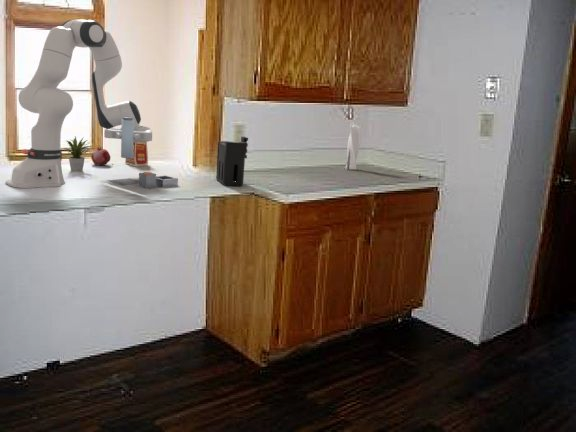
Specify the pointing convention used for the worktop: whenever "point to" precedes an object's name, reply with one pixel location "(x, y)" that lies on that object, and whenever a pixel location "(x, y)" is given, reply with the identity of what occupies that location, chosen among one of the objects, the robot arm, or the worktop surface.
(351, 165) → the skyscraper
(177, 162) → the worktop surface
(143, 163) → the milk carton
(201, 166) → the worktop surface
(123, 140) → the block
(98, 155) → the fruit
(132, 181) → the mat
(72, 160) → the house plant
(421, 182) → the worktop surface
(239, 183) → the black machined bracket
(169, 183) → the filter head
